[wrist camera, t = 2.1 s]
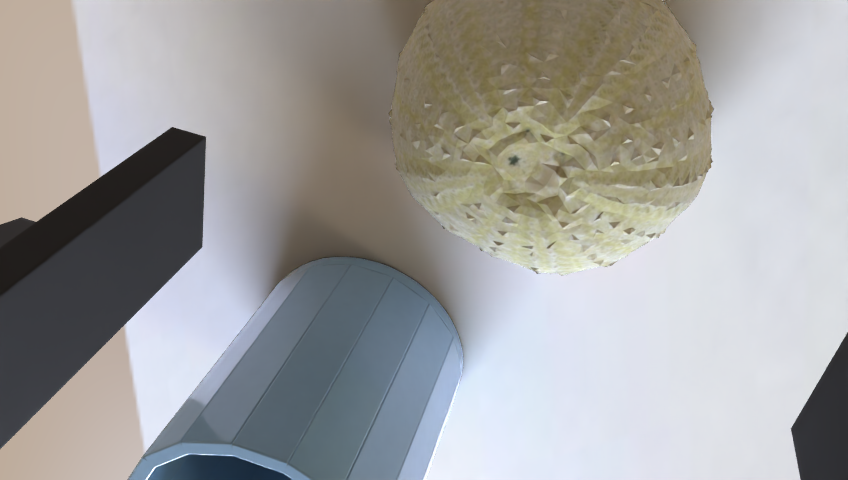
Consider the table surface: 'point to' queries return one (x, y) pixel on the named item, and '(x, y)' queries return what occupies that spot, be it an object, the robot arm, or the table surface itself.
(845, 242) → the table surface
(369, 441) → the tumbler
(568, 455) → the table surface
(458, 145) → the sea urchin shell
